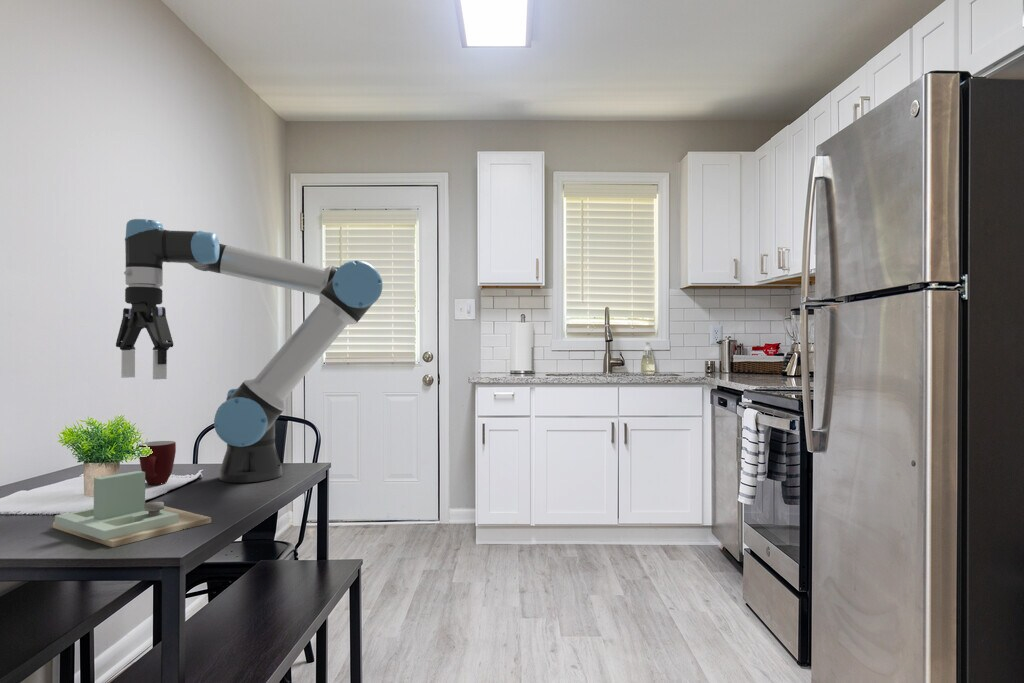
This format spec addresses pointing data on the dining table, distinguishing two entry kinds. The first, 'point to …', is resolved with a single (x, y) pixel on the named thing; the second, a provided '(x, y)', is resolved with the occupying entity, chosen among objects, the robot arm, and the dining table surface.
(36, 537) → the dining table surface
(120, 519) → the panel
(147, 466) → the mug
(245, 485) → the dining table surface
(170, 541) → the dining table surface
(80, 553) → the dining table surface
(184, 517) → the boss board
